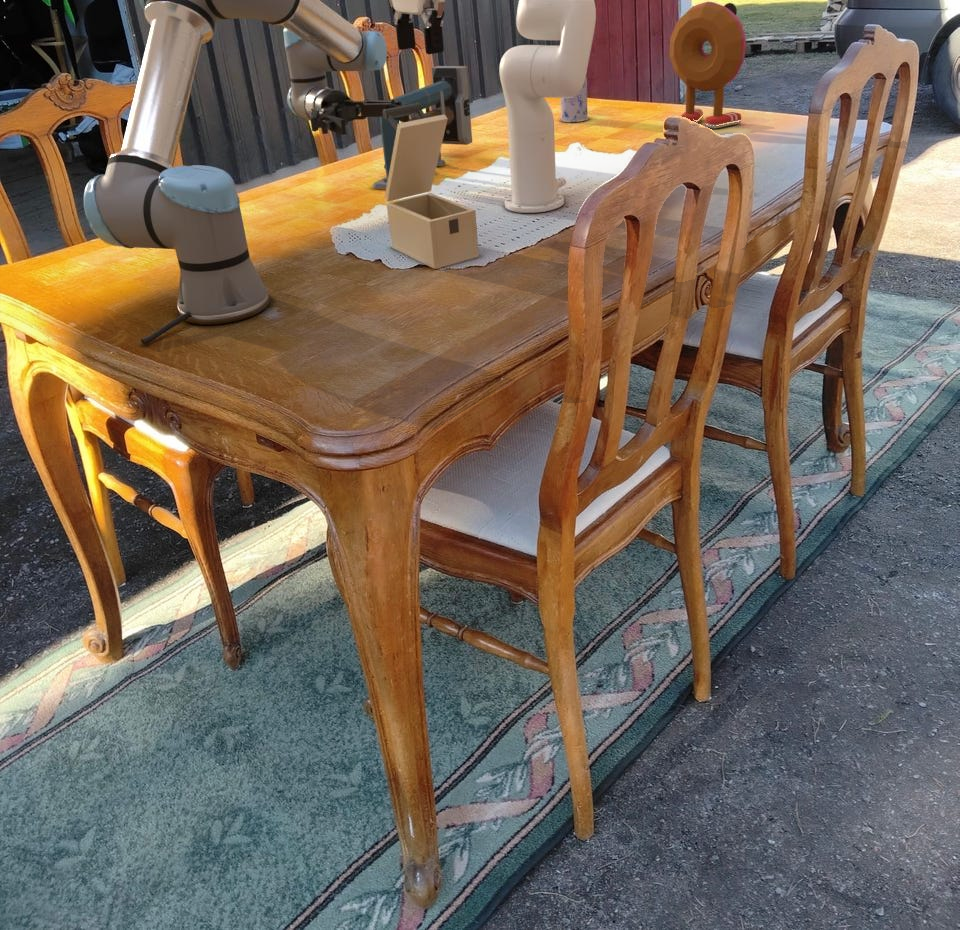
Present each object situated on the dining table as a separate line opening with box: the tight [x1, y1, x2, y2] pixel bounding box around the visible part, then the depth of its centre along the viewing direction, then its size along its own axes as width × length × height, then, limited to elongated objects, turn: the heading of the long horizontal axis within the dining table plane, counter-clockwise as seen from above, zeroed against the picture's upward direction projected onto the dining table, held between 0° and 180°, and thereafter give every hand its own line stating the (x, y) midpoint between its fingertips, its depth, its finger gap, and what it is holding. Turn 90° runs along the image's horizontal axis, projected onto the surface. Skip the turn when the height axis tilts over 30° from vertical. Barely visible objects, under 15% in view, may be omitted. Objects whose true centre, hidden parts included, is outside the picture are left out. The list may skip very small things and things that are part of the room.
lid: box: [383, 103, 447, 202], centre depth 180 cm, size 17×10×8 cm
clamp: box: [371, 65, 473, 190], centre depth 234 cm, size 35×9×21 cm, turn 151°
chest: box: [386, 192, 480, 270], centre depth 182 cm, size 17×10×9 cm, turn 32°
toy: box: [669, 1, 747, 129], centre depth 252 cm, size 21×10×30 cm, turn 47°
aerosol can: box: [560, 72, 589, 123], centre depth 273 cm, size 8×8×20 cm
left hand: (375, 121), depth 187 cm, fingers open, 13 cm apart
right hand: (420, 50), depth 164 cm, fingers open, 9 cm apart
